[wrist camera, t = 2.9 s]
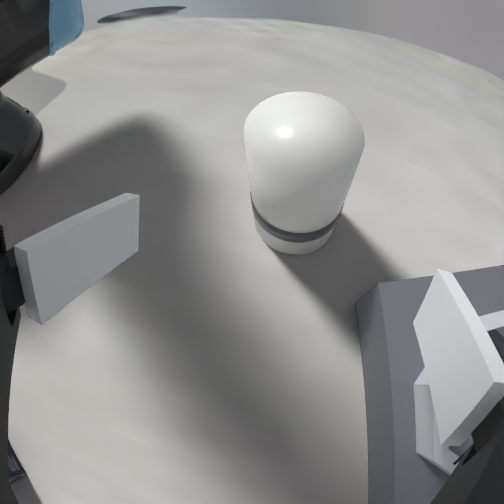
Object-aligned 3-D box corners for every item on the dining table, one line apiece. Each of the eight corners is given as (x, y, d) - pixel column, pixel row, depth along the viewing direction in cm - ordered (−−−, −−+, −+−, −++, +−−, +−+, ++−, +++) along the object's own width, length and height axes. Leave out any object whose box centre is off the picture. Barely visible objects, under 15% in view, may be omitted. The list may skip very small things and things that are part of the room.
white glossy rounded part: (251, 185, 29) (240, 94, 19) (327, 180, 29) (348, 90, 18) (256, 259, 26) (246, 184, 16) (341, 251, 26) (379, 177, 16)
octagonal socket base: (355, 303, 24) (391, 270, 17) (486, 283, 24) (542, 249, 16) (368, 510, 18) (403, 555, 10) (500, 461, 17) (557, 474, 10)
